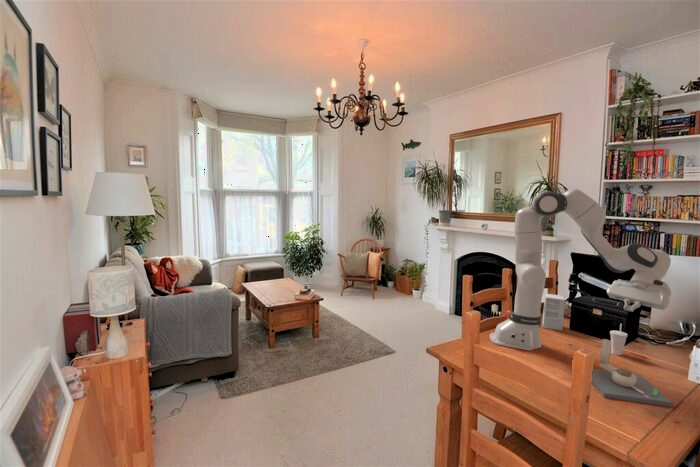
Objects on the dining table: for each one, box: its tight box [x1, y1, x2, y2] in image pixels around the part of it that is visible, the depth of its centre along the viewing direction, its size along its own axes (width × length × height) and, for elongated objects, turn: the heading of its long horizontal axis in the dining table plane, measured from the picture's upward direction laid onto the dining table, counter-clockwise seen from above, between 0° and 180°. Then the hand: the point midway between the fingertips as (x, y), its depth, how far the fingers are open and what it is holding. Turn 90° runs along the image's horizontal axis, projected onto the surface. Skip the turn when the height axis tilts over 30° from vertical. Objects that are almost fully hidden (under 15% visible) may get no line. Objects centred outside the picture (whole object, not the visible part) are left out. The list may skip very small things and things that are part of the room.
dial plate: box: [591, 368, 674, 408], centre depth 131 cm, size 20×20×2 cm
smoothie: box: [609, 323, 628, 356], centre depth 160 cm, size 6×6×14 cm
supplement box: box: [541, 293, 566, 331], centre depth 194 cm, size 10×9×17 cm
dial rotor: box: [599, 338, 644, 394], centre depth 132 cm, size 18×7×12 cm, turn 6°
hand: (627, 310), depth 143 cm, fingers closed
